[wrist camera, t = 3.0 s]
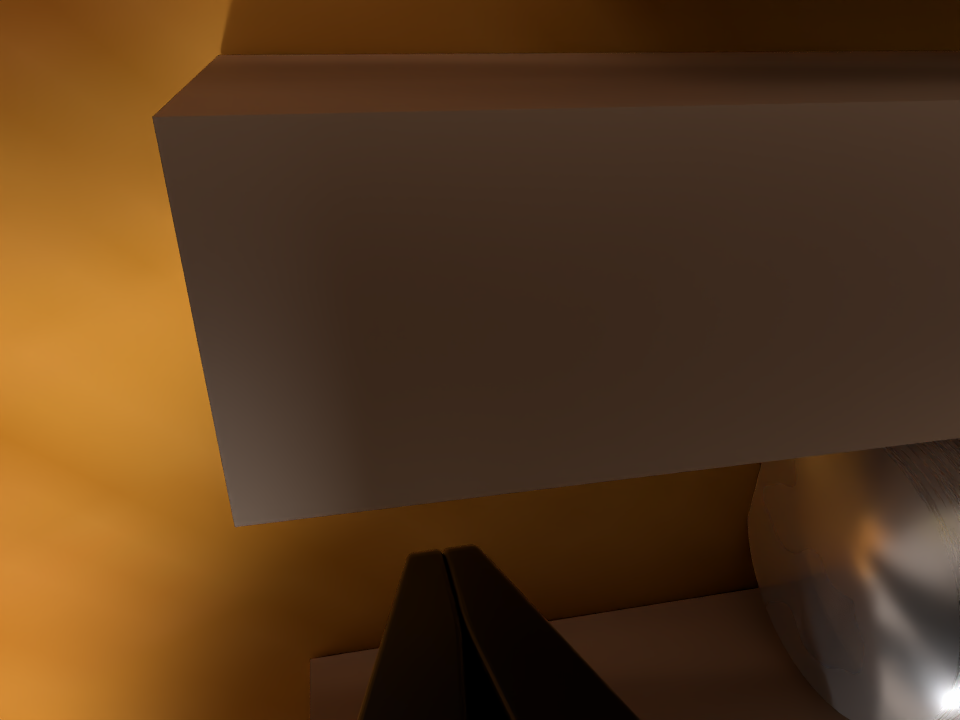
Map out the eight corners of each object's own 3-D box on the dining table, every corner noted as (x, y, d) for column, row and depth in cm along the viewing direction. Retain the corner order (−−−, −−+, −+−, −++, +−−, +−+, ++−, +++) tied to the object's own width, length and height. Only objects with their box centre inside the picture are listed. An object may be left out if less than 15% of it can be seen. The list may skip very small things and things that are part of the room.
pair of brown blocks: (1009, 646, 15) (1168, 801, 12) (327, 775, 12) (331, 1008, 10) (1340, 49, 9) (1774, 82, 6) (218, 54, 7) (153, 117, 4)
